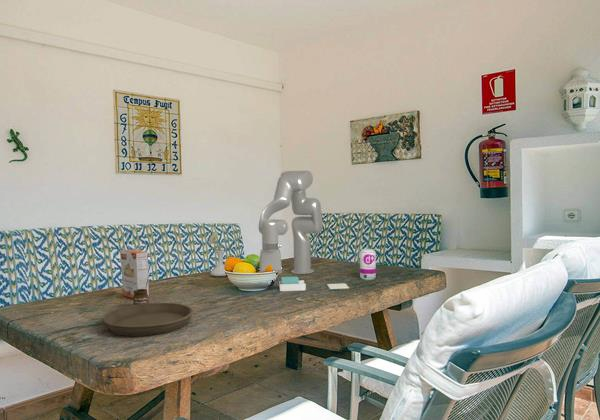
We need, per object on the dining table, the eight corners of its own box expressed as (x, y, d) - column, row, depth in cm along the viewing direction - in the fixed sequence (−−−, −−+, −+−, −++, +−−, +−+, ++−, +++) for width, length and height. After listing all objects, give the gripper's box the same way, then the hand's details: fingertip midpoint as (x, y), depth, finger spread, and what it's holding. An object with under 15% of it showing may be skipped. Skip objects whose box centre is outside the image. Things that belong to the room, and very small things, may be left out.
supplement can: (376, 279, 247) (376, 250, 247) (360, 280, 248) (360, 251, 247) (374, 276, 256) (374, 248, 255) (359, 277, 256) (358, 248, 255)
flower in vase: (220, 273, 274) (219, 229, 273) (235, 275, 268) (234, 230, 266) (203, 277, 264) (202, 231, 262) (218, 279, 257) (217, 232, 256)
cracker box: (121, 296, 219) (120, 250, 218) (134, 293, 224) (132, 249, 223) (137, 300, 210) (135, 252, 209) (149, 298, 214) (148, 251, 213)
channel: (279, 287, 233) (279, 281, 233) (303, 286, 234) (303, 280, 234) (280, 291, 224) (279, 284, 224) (305, 290, 225) (305, 283, 225)
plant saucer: (193, 334, 160) (193, 321, 160) (94, 342, 154) (93, 328, 154) (193, 311, 191) (193, 300, 191) (111, 317, 184) (110, 305, 184)
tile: (327, 285, 236) (327, 283, 236) (345, 284, 237) (345, 283, 237) (329, 289, 227) (329, 287, 227) (348, 288, 228) (348, 287, 228)
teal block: (281, 288, 231) (281, 277, 231) (298, 287, 232) (297, 276, 231) (281, 290, 226) (281, 278, 226) (298, 290, 227) (298, 278, 226)
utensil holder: (132, 306, 200) (131, 277, 199) (148, 304, 202) (147, 276, 202) (133, 309, 195) (133, 279, 194) (150, 307, 197) (149, 278, 196)
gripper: (285, 245, 232) (286, 283, 232) (254, 246, 230) (255, 284, 231) (286, 247, 224) (287, 286, 225) (254, 248, 223) (255, 288, 224)
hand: (271, 285), depth 228 cm, fingers closed
